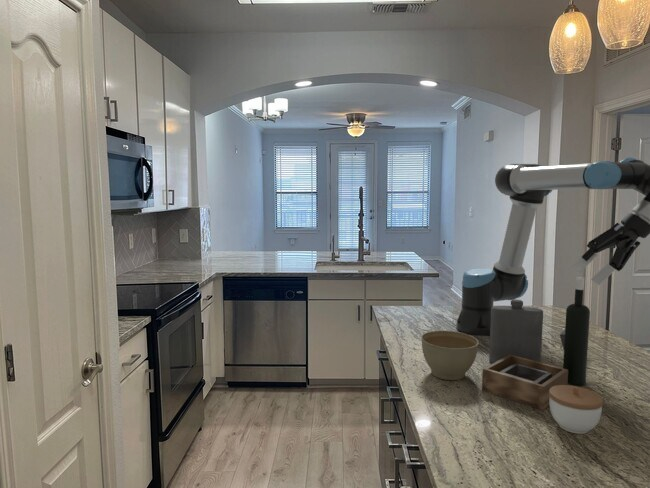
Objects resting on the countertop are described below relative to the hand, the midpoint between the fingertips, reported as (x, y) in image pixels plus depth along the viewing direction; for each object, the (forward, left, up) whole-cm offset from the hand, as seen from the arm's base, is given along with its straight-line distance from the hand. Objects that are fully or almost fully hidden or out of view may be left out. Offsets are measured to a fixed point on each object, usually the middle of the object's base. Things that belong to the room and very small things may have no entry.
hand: (585, 276), depth 134 cm
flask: (-16, -8, -29) cm, 34 cm away
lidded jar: (+11, -37, -29) cm, 48 cm away
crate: (-5, -26, -29) cm, 39 cm away
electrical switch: (-6, +12, -29) cm, 32 cm away
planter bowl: (-25, -31, -29) cm, 50 cm away
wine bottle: (+2, -10, -29) cm, 31 cm away
